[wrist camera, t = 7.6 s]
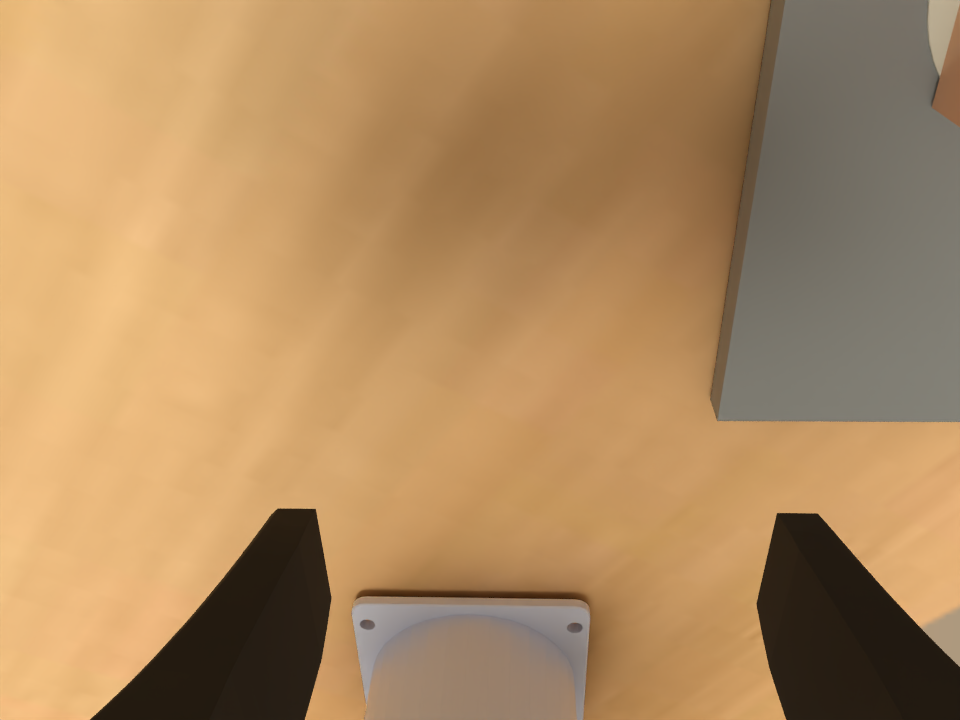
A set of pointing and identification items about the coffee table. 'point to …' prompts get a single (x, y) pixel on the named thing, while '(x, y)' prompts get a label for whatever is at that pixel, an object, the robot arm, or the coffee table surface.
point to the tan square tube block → (950, 79)
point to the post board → (847, 223)
